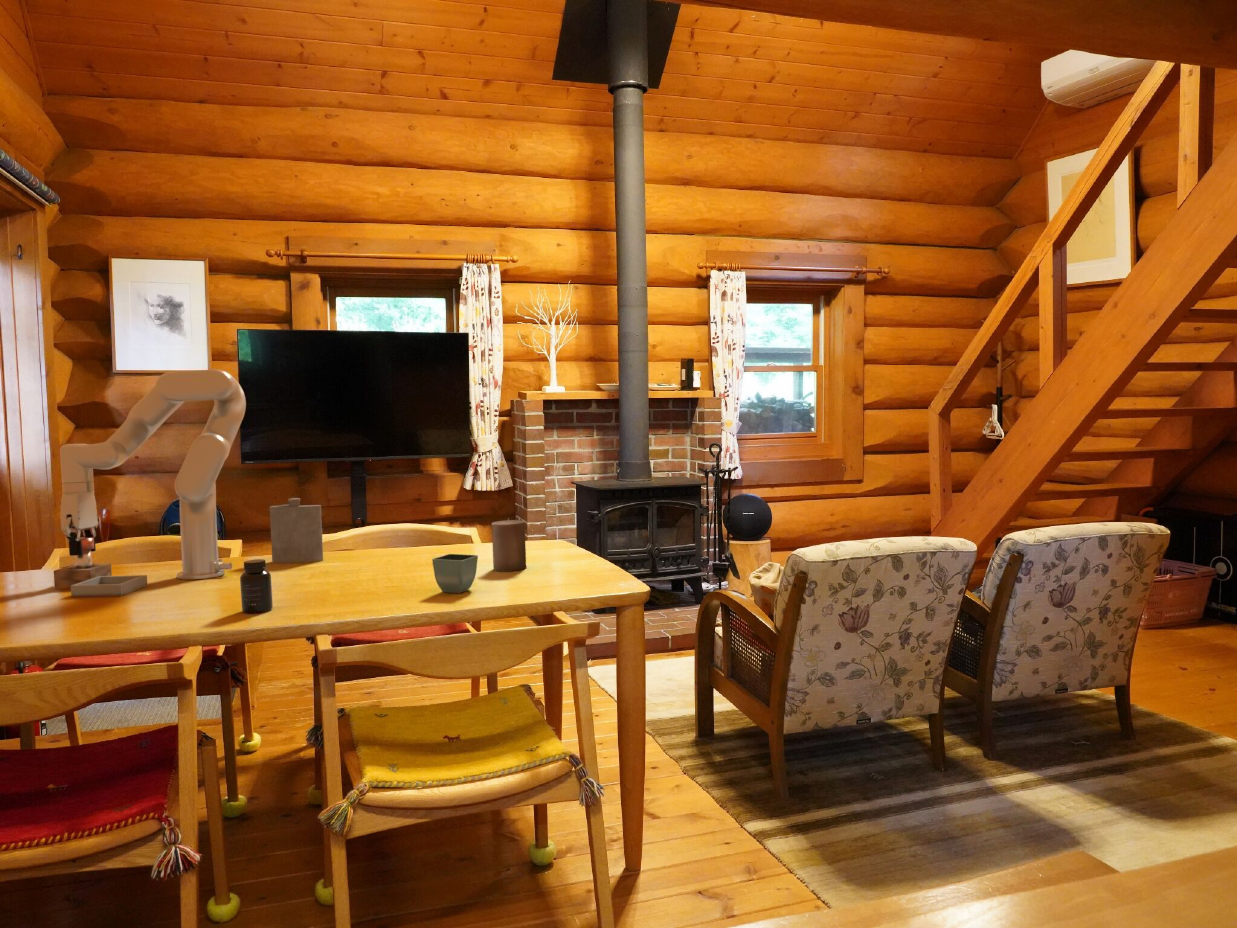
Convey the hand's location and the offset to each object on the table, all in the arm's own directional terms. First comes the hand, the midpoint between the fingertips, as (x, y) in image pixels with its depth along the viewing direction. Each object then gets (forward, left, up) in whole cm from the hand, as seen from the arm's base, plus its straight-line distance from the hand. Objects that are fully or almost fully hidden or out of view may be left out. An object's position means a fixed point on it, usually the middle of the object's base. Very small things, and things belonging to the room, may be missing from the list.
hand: (82, 552), depth 249 cm
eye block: (0, 0, -9) cm, 9 cm away
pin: (0, 0, -7) cm, 7 cm away
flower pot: (-107, +19, -9) cm, 109 cm away
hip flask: (-48, -32, -9) cm, 58 cm away
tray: (-13, +10, -9) cm, 19 cm away
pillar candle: (-117, -12, -9) cm, 118 cm away
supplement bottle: (-63, +37, -9) cm, 74 cm away
